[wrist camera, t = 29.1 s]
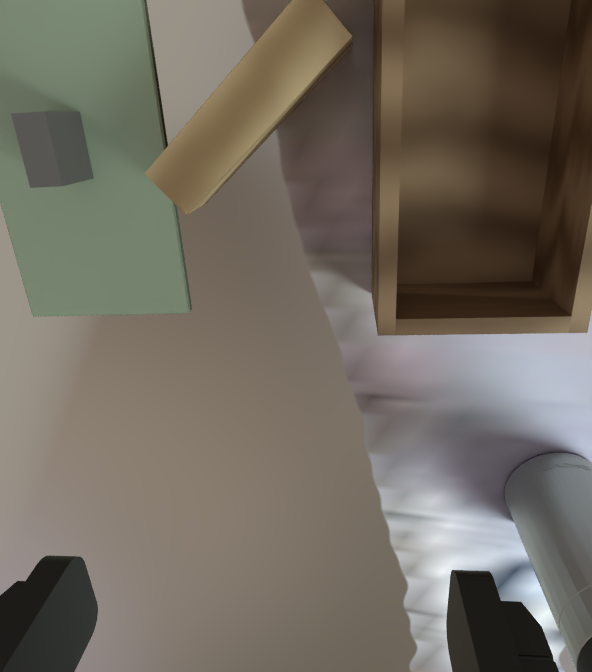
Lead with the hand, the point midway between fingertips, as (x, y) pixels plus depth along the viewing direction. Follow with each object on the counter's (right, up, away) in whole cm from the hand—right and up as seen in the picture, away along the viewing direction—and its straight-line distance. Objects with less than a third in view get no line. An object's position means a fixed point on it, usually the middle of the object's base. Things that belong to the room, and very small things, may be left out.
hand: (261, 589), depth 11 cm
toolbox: (+14, +20, +27) cm, 36 cm away
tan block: (-2, +23, +28) cm, 36 cm away
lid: (-17, +19, +31) cm, 40 cm away
